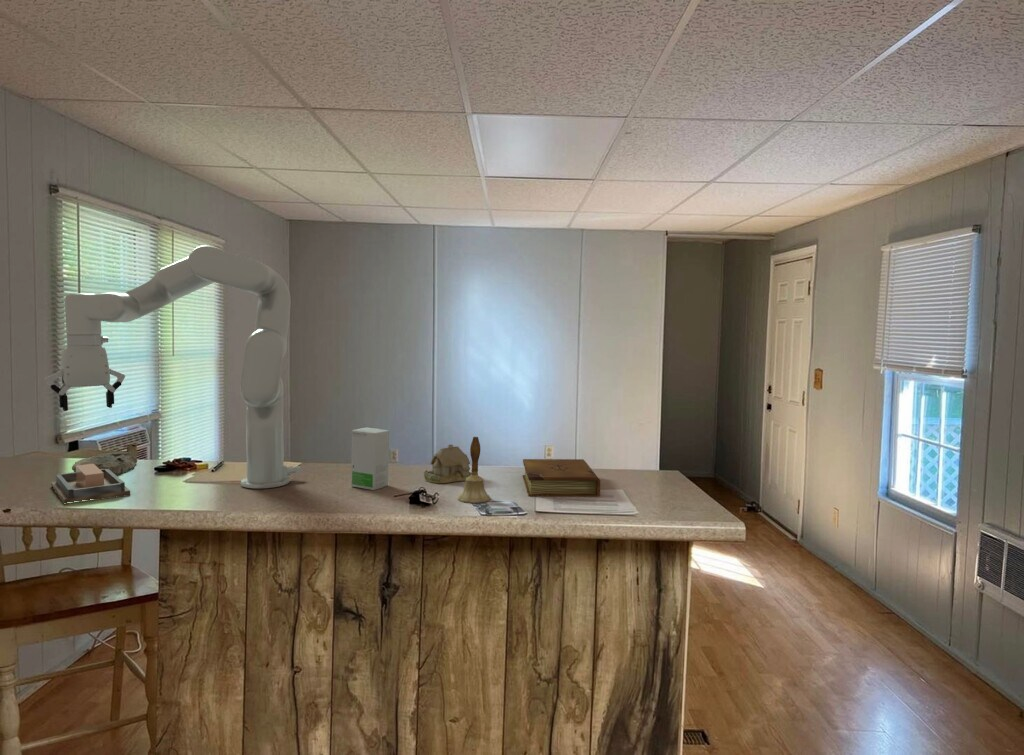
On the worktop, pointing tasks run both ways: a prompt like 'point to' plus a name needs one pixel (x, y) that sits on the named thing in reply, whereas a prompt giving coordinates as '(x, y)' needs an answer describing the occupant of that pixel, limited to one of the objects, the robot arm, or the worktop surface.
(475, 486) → the hand bell
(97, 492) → the gray rectangular frame
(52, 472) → the worktop surface
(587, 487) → the diary
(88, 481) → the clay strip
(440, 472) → the ceramic model
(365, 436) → the skincare box
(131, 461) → the clay tablet
